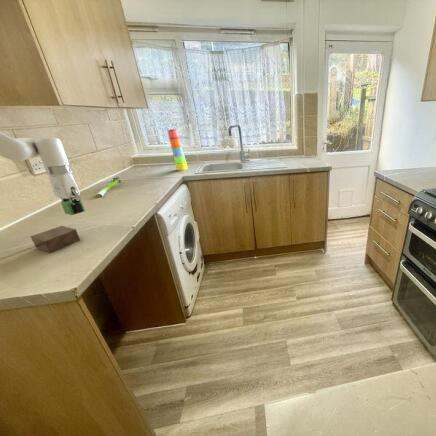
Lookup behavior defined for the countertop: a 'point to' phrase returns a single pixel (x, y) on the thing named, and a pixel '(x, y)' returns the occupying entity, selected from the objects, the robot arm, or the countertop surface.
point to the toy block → (69, 207)
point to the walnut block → (55, 238)
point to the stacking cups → (177, 150)
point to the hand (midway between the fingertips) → (74, 211)
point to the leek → (109, 186)
